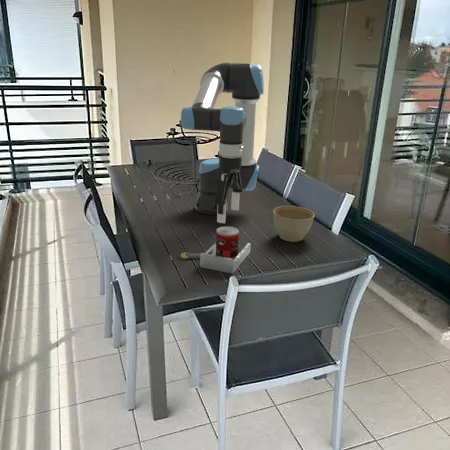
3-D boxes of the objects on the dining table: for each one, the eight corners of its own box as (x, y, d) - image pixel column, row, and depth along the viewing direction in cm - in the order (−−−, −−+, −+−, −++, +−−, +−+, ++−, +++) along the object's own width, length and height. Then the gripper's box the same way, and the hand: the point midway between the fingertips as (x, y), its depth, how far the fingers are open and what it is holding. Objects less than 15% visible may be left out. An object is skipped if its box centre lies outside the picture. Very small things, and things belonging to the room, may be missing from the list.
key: (180, 259, 160) (180, 256, 160) (180, 255, 163) (180, 252, 163) (202, 259, 161) (202, 256, 161) (202, 255, 164) (202, 252, 164)
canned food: (214, 254, 165) (215, 226, 161) (236, 253, 166) (237, 226, 162) (216, 263, 158) (217, 234, 154) (238, 263, 159) (240, 234, 155)
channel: (200, 266, 155) (200, 253, 154) (220, 246, 172) (220, 234, 170) (232, 273, 152) (233, 260, 150) (250, 251, 168) (251, 239, 166)
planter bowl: (302, 249, 172) (305, 222, 168) (264, 239, 180) (266, 213, 176) (317, 236, 185) (320, 211, 180) (281, 227, 192) (283, 203, 188)
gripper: (227, 165, 136) (225, 230, 144) (252, 149, 158) (249, 206, 166) (205, 162, 139) (204, 226, 147) (232, 147, 160) (230, 203, 168)
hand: (228, 216), depth 156 cm, fingers open, 13 cm apart
